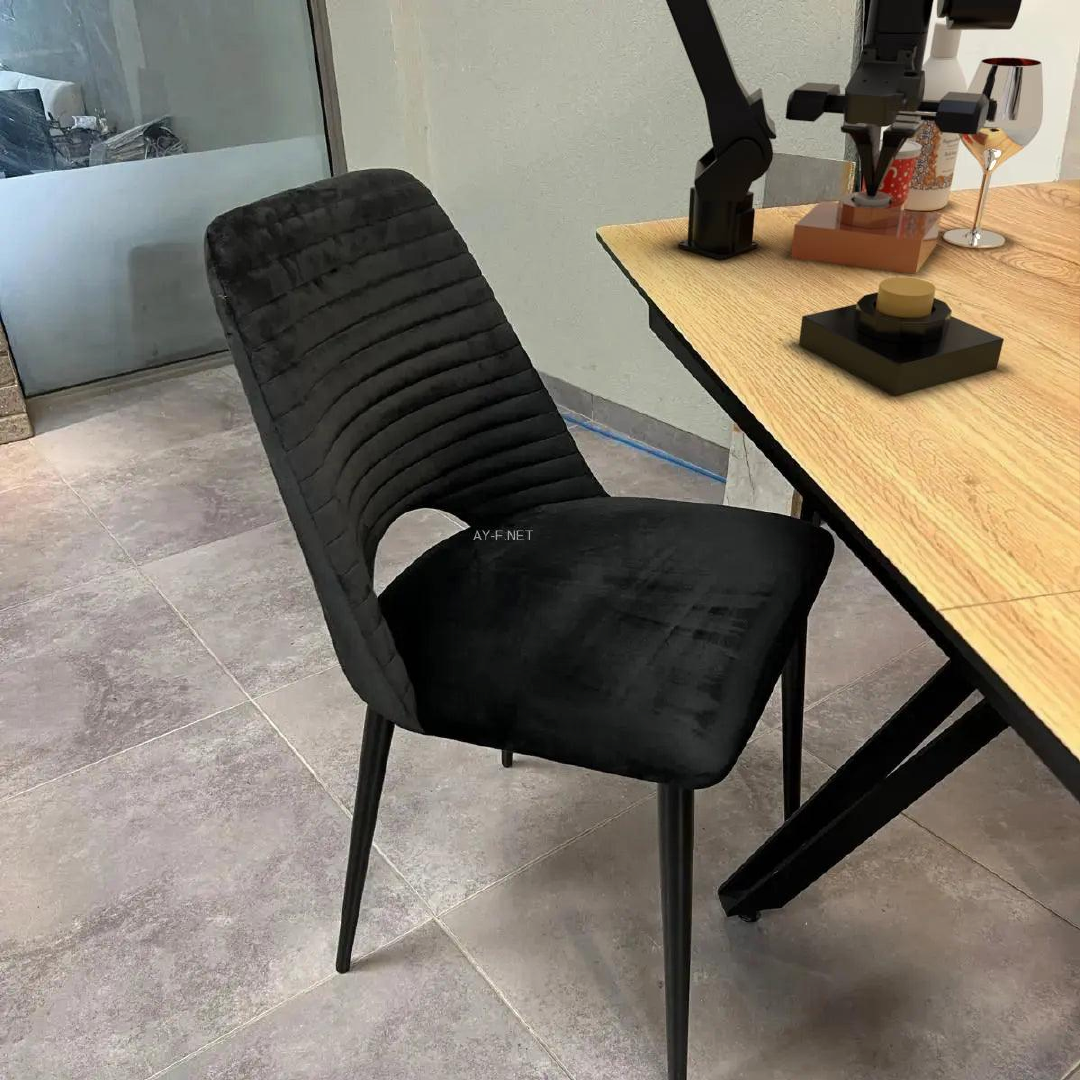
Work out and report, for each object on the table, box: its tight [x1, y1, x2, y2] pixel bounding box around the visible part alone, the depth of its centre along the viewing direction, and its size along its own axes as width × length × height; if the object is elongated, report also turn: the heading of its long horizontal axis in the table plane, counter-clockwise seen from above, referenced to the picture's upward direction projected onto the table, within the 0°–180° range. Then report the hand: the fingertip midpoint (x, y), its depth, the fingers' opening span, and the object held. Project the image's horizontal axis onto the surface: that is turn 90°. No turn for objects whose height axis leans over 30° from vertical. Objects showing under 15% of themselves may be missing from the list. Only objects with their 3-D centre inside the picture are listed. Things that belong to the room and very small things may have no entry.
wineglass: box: [942, 56, 1044, 249], centre depth 108 cm, size 8×8×18 cm
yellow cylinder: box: [876, 276, 937, 318], centre depth 85 cm, size 4×4×2 cm
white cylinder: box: [854, 190, 890, 206], centre depth 108 cm, size 4×4×2 cm
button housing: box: [790, 191, 942, 275], centre depth 109 cm, size 13×10×6 cm
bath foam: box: [904, 20, 968, 212], centre depth 120 cm, size 7×7×20 cm
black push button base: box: [798, 291, 1005, 397], centre depth 86 cm, size 12×11×4 cm
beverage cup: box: [861, 138, 921, 210], centre depth 114 cm, size 6×6×14 cm
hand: (872, 195), depth 107 cm, fingers closed, pressing on white cylinder
